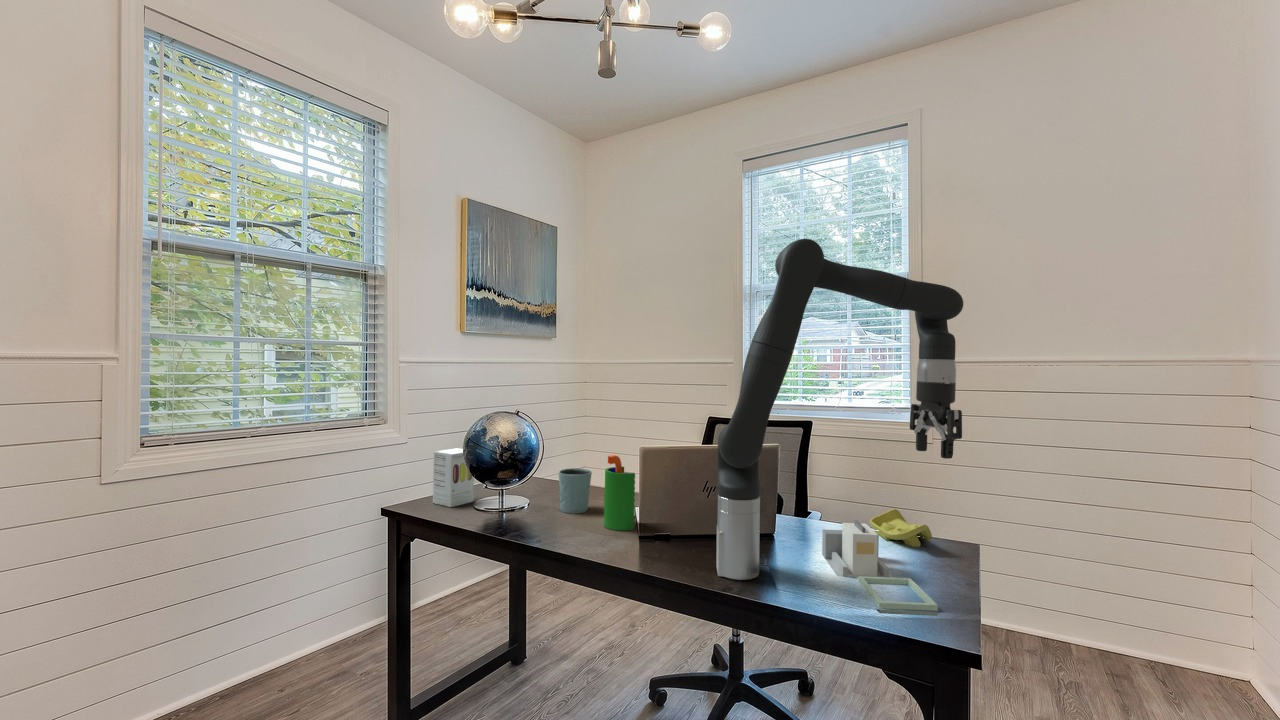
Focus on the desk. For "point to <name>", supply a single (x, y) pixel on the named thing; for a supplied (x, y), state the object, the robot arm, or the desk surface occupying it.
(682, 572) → the desk surface
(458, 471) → the supplement box
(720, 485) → the robot arm
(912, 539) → the plastic component
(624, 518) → the motor
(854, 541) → the labeled white box
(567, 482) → the pale teal cup
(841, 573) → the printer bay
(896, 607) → the tray
